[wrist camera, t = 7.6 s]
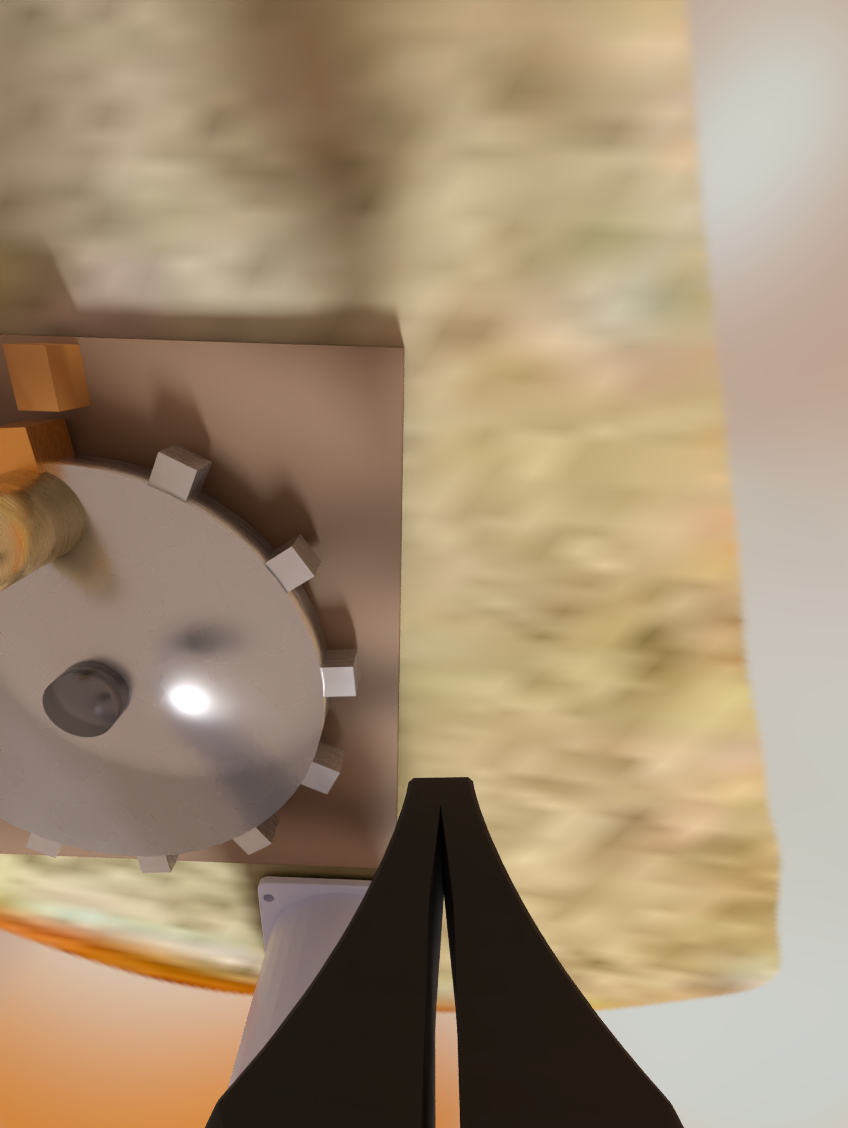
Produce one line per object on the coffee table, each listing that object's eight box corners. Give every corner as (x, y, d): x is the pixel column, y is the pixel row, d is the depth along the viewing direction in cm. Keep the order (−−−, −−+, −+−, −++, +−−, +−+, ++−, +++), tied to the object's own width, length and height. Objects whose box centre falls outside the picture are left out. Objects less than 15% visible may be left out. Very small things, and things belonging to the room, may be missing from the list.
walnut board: (396, 853, 26) (393, 902, 24) (-51, 836, 26) (-97, 882, 24) (404, 347, 18) (399, 349, 15) (-254, 326, 18) (-353, 324, 15)
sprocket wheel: (377, 841, 24) (362, 977, 19) (-31, 848, 25) (-153, 980, 20) (333, 407, 17) (290, 436, 12) (-232, 431, 18) (-500, 469, 13)
